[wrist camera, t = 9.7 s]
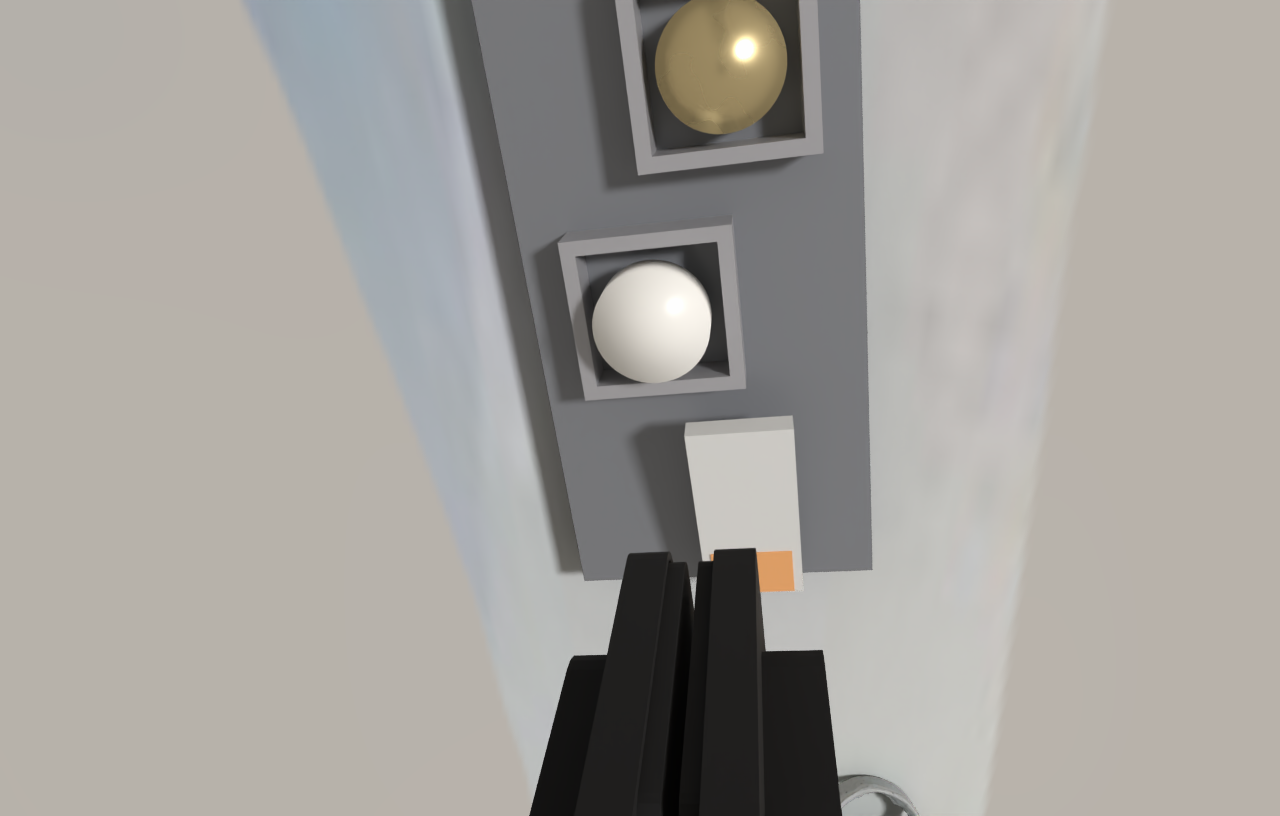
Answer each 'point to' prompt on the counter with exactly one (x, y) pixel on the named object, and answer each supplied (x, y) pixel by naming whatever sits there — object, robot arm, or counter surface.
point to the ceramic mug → (871, 784)
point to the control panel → (690, 263)
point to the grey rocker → (748, 494)
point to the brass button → (721, 64)
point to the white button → (652, 321)
